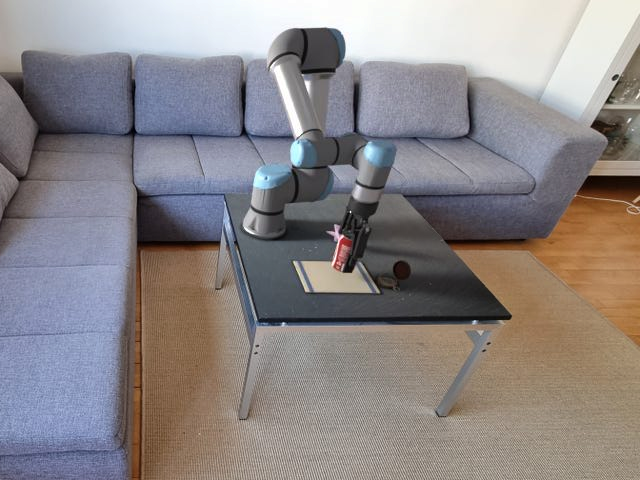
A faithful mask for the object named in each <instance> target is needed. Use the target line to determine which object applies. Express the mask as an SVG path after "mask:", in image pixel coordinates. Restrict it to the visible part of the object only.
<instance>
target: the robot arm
mask: <svg viewBox="0 0 640 480" xmlns="http://www.w3.org/2000/svg"><path fill="white" fill-rule="evenodd" d="M346 46H347V45H346V40H345V37H344V34H342V32H341V31H340V30H339V29H338V28H335V27H327V26H325V27H324V26H323V27H301V28H300V27H293V28H288V29H286V30H284V31H282V32H281V33H279V34H278V35H277V36H276V37H275V38H274V40H273V41H272V42H271V45H270V46H269V48H268V52H267V54H266V55H267V56H266V67H267V68H266V69H267V72H268V75H269V77H270V78H271V80H273V81H274V82H275V84H276V87H277V91H278V93H279V97H280V100H281V103H282V105H283V110H284V111H285V112H284V113H285V115H286V117H287V118H286V119H287V121H288V124H289V127H290V130H291V133H292V137H293V139H294V141H293V142H292V144H291V147H290V149H289V150H290V151H289V153H290V161H291V166H289V165H287V164H284V163H275V162H274V163H267V164H264V165H262V166H260V167H259V168H258V169H257V170H256V172H255V175H254V179H253V183H252V184H253V185H252V193H251V200H250V208H249V209H248V211H247V213H246V214H245V217H244V219H243V220H242V227H241V228H242V230H243V231H244V233H245V234H246V235H248V236H250V237H252V238H254V239H258V240H263V241H270V240H271V241H272V240H276V239H280V238H282V237H283V236H284V235H285V233H286V229H287V225H286V220H285V213H284V212H285V207H286V205H287V204H288V205H289V204H298V203H299V204H300V203H314V202H321V201H323V200H326V199H327V198H328V196H330V194H331V193H332V190H333V188H334V183H335V175H334V172H333V169H332V168H331V167H335V166H346V165H347V166H348V165H349V166H351V167H352V168H354V169H355V170H356V171H357V175H356V177H355V180H354V183H353V187H352V190H351V193H350V194H351V196H350V197H349V200H348V203H347V206H346V207H345V208H346V209H345V212H344V214H343V219H342V220H341V224H340V225H339V226H340V229H339V231H338V233H339V234H340V236H341V235H343V233H344V232H345V231H348V230H352V233H353V237H352V244H351V250H350V254H347V259H346V262H345V265H344V268H343V271H342V272H343V273H352V272H353V269H354V266H355V263H356V260H357V258H358V259H363V258H364V255H365V252H366V248H367V245H368V241H369V238H370V235H371V233H372V231H373V228H372V227H369V226H368V224H369V219H370V217H372V216H374V215H375V214H376V213H377V210H378V207H379V205H380V201H381V198H382V195H383V193H384V191H385V190H386V189H385V187H386V184H387V183H388V178H389V176H390V173H391V171H392V168H393V166H394V164H395V158H396V155H397V152H398V147H397V145H396V144H395V143H393V142H391V141H387V140H386V139H372V140H368V139H367V138H365V137H364V136H363V135H360V133H356V132H354V131H347V132H344V133H343V134H341V135H339V137H326V132H327V130H326V129H327V122H328V121H327V119H328V110H329V109H328V108H329V96H330V83H331V79H333V78H334V77H335V75H336V73H337V71H336V70H337V69H338V68H340V67H341V66H342V65H343V63H344V60H345V57H346V52H347V48H346ZM357 261H358V260H357Z"/></svg>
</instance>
